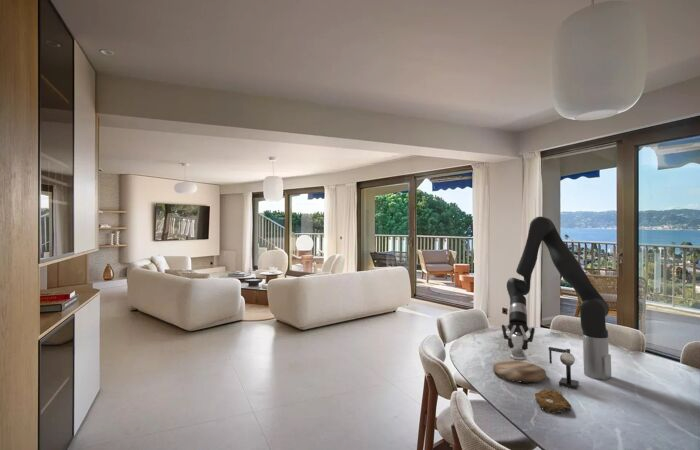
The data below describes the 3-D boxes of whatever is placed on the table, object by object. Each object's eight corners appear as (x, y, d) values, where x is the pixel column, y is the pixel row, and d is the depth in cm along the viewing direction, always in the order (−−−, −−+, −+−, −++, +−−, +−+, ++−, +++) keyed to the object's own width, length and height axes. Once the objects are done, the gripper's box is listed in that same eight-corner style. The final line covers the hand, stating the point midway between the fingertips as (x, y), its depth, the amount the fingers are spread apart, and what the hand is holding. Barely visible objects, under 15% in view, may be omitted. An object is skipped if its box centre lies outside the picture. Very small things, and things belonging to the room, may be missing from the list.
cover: (529, 358, 161) (529, 333, 161) (520, 361, 157) (520, 335, 157) (515, 354, 166) (514, 329, 166) (506, 357, 163) (506, 332, 163)
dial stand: (578, 384, 150) (577, 349, 150) (576, 389, 146) (574, 352, 146) (551, 378, 157) (550, 344, 157) (548, 383, 152) (547, 347, 152)
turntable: (555, 374, 159) (555, 370, 159) (528, 386, 147) (528, 382, 147) (510, 360, 176) (510, 357, 176) (483, 370, 164) (483, 366, 164)
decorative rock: (531, 395, 142) (539, 415, 128) (530, 385, 142) (538, 404, 128) (564, 397, 139) (576, 418, 125) (563, 386, 139) (575, 406, 125)
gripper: (501, 309, 172) (499, 342, 161) (535, 311, 165) (536, 346, 155) (501, 317, 176) (500, 350, 166) (535, 321, 170) (536, 355, 159)
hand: (517, 348), depth 160 cm, fingers closed on cover, 5 cm apart
